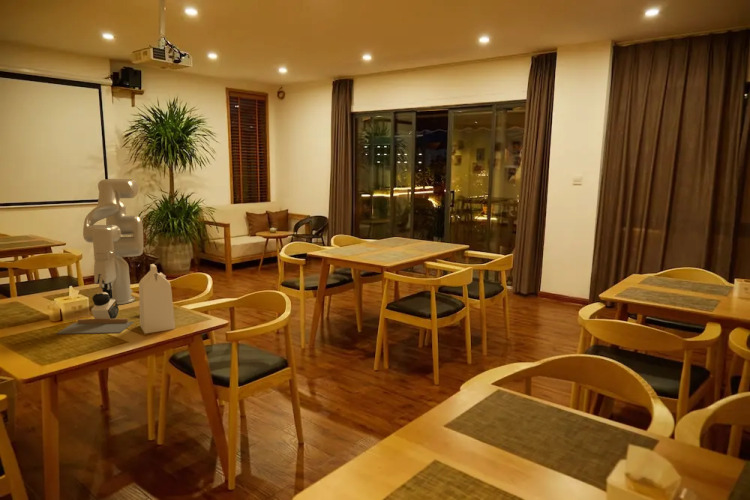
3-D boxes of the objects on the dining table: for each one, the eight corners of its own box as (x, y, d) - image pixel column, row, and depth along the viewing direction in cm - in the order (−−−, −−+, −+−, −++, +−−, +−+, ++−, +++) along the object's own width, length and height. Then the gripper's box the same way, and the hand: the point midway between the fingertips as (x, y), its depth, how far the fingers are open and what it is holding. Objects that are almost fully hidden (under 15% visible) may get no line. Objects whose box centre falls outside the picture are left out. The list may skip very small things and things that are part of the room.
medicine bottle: (112, 323, 208) (104, 300, 201) (95, 322, 208) (86, 300, 201) (120, 312, 214) (112, 290, 207) (104, 311, 214) (95, 289, 207)
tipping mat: (74, 323, 206) (74, 319, 206) (133, 322, 208) (133, 318, 208) (56, 334, 193) (56, 329, 193) (119, 333, 195) (119, 328, 195)
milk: (140, 325, 205) (135, 264, 200) (169, 320, 211) (165, 261, 207) (144, 333, 195) (140, 269, 191) (175, 328, 201) (171, 266, 197)
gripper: (103, 253, 215) (107, 294, 218) (86, 259, 200) (90, 303, 203) (121, 253, 215) (124, 294, 218) (105, 259, 200) (108, 303, 203)
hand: (107, 298), depth 210 cm, fingers closed
